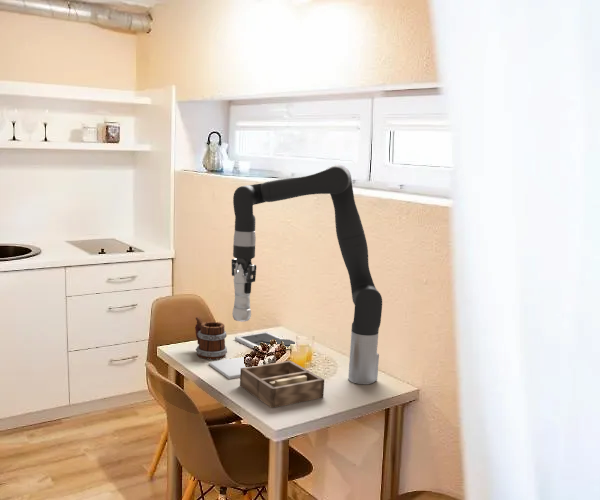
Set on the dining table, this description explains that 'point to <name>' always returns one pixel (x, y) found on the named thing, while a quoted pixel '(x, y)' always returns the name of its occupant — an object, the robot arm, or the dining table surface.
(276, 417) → the dining table surface
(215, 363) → the grey plate
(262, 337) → the picture frame
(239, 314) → the plastic bottle
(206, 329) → the mug
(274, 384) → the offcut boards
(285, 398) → the walnut divided box
